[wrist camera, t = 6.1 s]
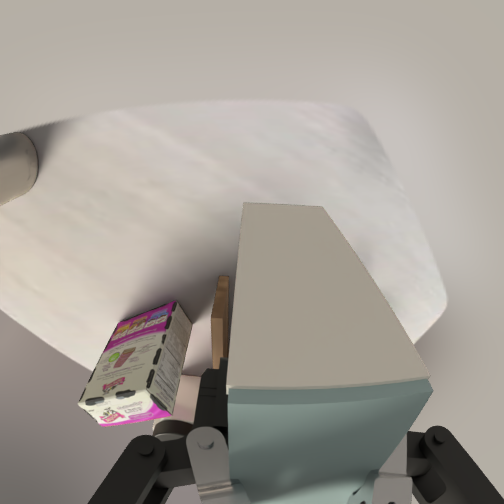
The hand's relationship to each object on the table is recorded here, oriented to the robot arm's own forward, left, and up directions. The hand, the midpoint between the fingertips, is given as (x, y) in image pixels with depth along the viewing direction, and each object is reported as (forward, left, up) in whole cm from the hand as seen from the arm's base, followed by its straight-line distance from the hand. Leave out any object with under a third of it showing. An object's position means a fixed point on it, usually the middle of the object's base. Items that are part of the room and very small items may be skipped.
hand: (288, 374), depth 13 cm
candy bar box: (-15, -18, -26) cm, 35 cm away
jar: (-11, -32, -26) cm, 43 cm away
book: (0, 0, -8) cm, 8 cm away
